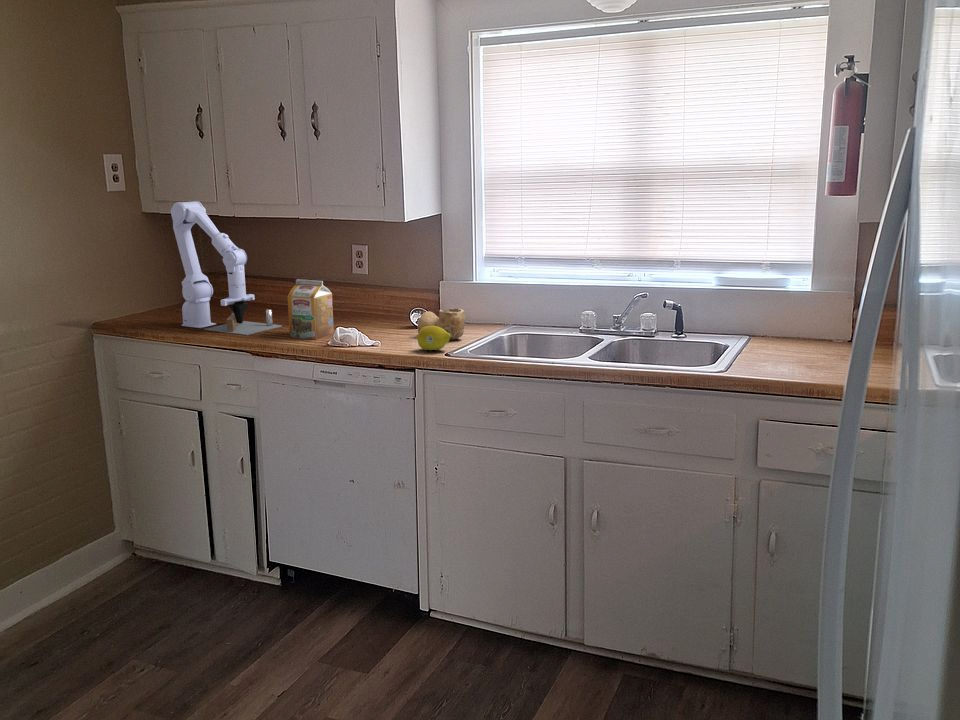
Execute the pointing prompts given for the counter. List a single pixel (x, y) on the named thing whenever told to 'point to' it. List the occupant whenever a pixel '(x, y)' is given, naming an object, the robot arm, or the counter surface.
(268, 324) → the hitch post
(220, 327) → the mat
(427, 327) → the lemon
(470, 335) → the counter surface
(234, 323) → the bar
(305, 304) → the milk carton
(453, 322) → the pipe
